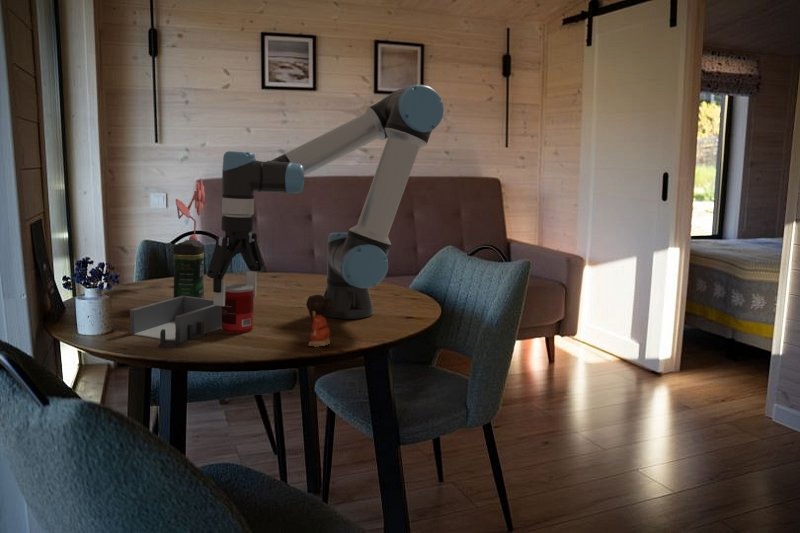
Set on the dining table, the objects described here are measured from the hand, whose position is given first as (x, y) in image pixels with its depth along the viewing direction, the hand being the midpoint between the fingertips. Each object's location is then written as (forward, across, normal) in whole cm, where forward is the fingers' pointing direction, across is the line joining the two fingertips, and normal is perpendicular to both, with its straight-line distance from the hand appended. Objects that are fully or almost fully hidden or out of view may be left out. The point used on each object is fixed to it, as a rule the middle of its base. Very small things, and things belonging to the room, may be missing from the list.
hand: (235, 300), depth 165 cm
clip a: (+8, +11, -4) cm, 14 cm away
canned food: (+8, 0, 0) cm, 8 cm away
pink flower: (+8, -45, -44) cm, 64 cm away
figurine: (+7, +2, +24) cm, 26 cm away
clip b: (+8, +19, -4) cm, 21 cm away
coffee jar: (+8, -17, -28) cm, 33 cm away
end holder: (+8, +6, -12) cm, 15 cm away
